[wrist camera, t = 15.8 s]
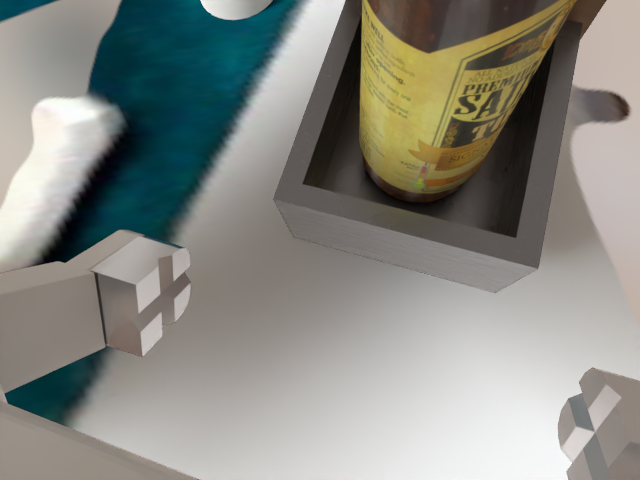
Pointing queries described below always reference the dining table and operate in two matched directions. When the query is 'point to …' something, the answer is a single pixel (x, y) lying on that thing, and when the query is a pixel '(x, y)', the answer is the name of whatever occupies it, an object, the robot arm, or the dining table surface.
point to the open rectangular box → (441, 215)
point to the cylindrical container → (234, 8)
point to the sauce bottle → (444, 85)
